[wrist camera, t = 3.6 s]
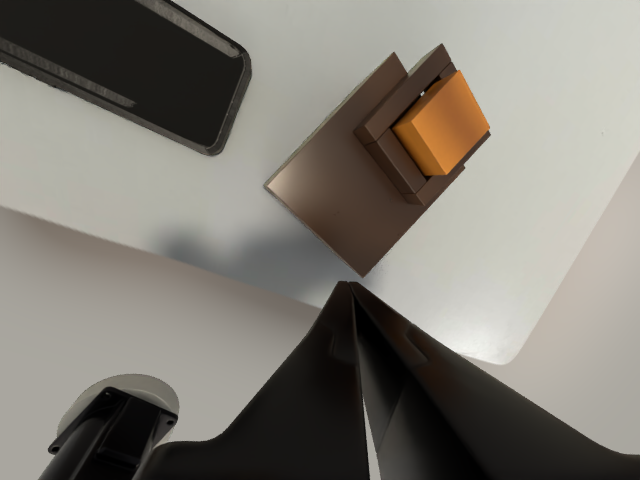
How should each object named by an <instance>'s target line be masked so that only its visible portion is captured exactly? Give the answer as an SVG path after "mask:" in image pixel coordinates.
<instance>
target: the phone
mask: <svg viewBox="0 0 640 480" xmlns="http://www.w3.org/2000/svg"><path fill="white" fill-rule="evenodd" d="M0 61H2V62H5V63H7V64H9V66H10V67H12V68H14V69H16V70H19V71H21V72H23V73H25V74H27V75H29V76H35V77H36V79H37V80H40V81H42V82H44V83H46V84H48V85H51V86H53V87H55V88H56V86H57V87H59V88H61V89H63V90H65V91H68V92H70V93H72V94H74V95H76V96H78V97H81V98H83V99H85V100H87V101H89V102H92V103H94V104H96V105H98V106H100V107H102V108H105V109H107V110H109V111H111V112H113V113H115V114H118V115H120V116H122V117H124V118H126V119H128V120H131V121H133V122H135V123H137V124H139V125H142V126H144V127H146V128H148V129H150V130H152V131H155V132H157V133H159V134H161V135H163V136H165V137H168V138H170V139H172V140H174V141H176V142H179V143H181V144H183V145H185V146H187V147H189V148H192V149H194V150H196V151H198V152H200V153H202V154H206V155H215V154H218V153H219V152H220V151H222V149H223V147H224V145H225V142H226V140H227V137H228V135H229V132H230V130H231V127H232V124H233V122H234V119H235V117H236V114H237V111H238V109H239V106H240V104H241V101H242V98H243V96H244V93H245V91H246V88H247V86H248V83H249V80H250V78H251V59H250V57H249V54H248V53H247V51H246V50H245V49H244V48H243V47H242V46H241V45H240V44H238V43H237V42H235V41H233V40H232V39H230V38H229V37H227V36H226V35H224V34H223V33H221V32H219V31H218V30H216V29H215V28H213V27H212V26H210V25H209V24H207V23H205V22H204V21H202V20H201V19H199V18H198V17H196V16H195V15H193V14H191V13H190V12H188V11H187V10H185V9H184V8H182V7H181V6H179V5H177V4H176V3H174V2H173V1H171V0H0Z"/></svg>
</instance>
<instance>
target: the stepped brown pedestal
mask: <svg viewBox="0 0 640 480" xmlns="http://www.w3.org/2000/svg"><path fill="white" fill-rule="evenodd" d="M456 71H457V70H456V68H455V66H454V64H453V62H451V58H450V57H449V55H448V53H447V51H446V49H445V47H444V45H443V44H440V45H439V46H437V47H436V48H434V49H433V50H432V51H430V52H429V53H428V54H426V55H425V56H424V57H422V58H421V59H420V60H419V62H418V63H417V64H416V65H415V66H414V67H413V68H412V69H411V70H410V71H409V72H408V73H407V72H406V70H405V68H404V67H403V65H402V63H401V62H400V60H399V59H398V57H397V55H396V54H395V52H393V53H392V54H391V55H390V56H389V57H388V58H387V59H386V60H385V61H383V62H382V63H381V64H380V65H379V66H378V67H377V68H376V69H375V70H374V71H373V72H372V73H371V74H369V75H368V76H367V77H366V78H365V79H364V80H363V81H362V82H361V83H360V84H359V85H358V86H357V87H356V88H355V89H354V90H353V91H352V92H351V93H350V94H349V95H348V96H347V97H346V99H345V100H344V101H343V102H342V103H341V104H340V105H339V106H338V107H337V108H336V109H335V110H334V111H333V112H332V113H331V114H330V115H329V116H328V117H327V119H326V120H325V121H324V122H323V123H322V124H321V125H320V126H319V127H318V128H317V129H316V130H315V131H314V132H313V133H312V134H311V135H310V136H309V137H308V139H307V140H306V141H305V142H304V143H303V144H302V145H301V146H300V147H299V148H298V149H297V150H296V151H295V152H294V153H293V154H292V155H291V156H290V157H289V158H288V160H287V161H286V162H285V163H284V164H283V165H282V166H281V167H280V168H279V169H278V170H277V171H276V172H275V173H274V174H273V175H272V176H271V177H270V178H269V180H268V181H267V182H266V183H265V184H264V185H263V186H264V187H265V188H266V189H267V190H268V191H269V192H270V193H271V194H272V195H273V196H275V197H276V198H277V199H278V200H279V201H280V202H281V203H282V204H283V205H284V206H285V207H286V208H287V209H288V210H289V211H290V212H291V213H292V214H293V215H294V216H296V217H297V218H298V219H299V220H300V221H301V222H302V223H303V224H304V225H305V226H306V227H307V228H308V229H309V230H310V231H311V232H312V233H313V234H314V235H315V236H317V237H318V238H319V239H320V240H321V241H322V242H323V243H324V244H325V245H326V246H327V247H328V248H329V249H330V250H331V251H332V252H333V253H334V254H335V255H336V256H338V257H339V258H340V259H341V260H342V261H343V262H344V263H345V264H347V265H348V266H349V267H350V268H351V269H352V270H353V271H355V272H356V273H357V274H358V275H359V276H360V277H362V278H364V277H365V276H366V275H367V274H368V273H369V271H370V270H371V269H372V268H373V267H374V266H375V265H376V264H377V263H378V262H379V261H380V260H381V259H382V257H383V256H384V255H385V254H386V253H387V252H388V251H389V250H390V249H391V248H392V247H393V246H394V245H395V243H396V242H397V241H398V240H399V239H400V238H401V237H402V236H403V235H404V234H405V233H406V232H407V230H408V229H409V228H410V227H411V226H412V225H413V224H414V223H415V222H416V221H417V220H418V219H419V218H420V216H421V215H422V214H423V213H424V212H425V211H426V210H427V209H428V208H429V207H430V206H431V205H432V204H433V202H434V201H435V200H436V199H437V198H438V197H439V196H440V195H441V194H442V193H443V192H444V191H445V190H446V188H447V187H448V186H449V185H450V184H451V183H452V182H453V181H454V180H455V179H456V178H457V177H458V176H459V174H460V173H461V172H462V171H463V170H464V169H465V167H464V165H463V164H464V163H465V162H466V161H467V160H468V159H469V158H470V157H471V156H472V155H473V154H474V153H475V152H476V150H477V149H478V148H479V147H480V146H481V145H482V144H483V143H484V142H485V141H486V140H487V139H488V138H489V136H490V135H491V134H490V132H489V130H488V131H487V132H486V133H485V134H484V135H483V136H482V137H481V138H480V139H479V140H478V142H477V143H476V144H475V145H474V146H473V147H472V148H471V149H470V150H469V151H468V152H467V153H466V154H465V156H464V157H463V158H462V159H461V160H460V161H459V162H458V163H457V164H456V165H455V166H454V167H453V168H452V169H451V171H450V172H449V173H448V174H447V175H429V176H424V175H423V174H422V172H421V171H420V169H419V168H418V167H417V165H416V164H415V162H414V161H413V159H412V158H411V157H410V155H409V154H408V152H407V151H406V150H405V148H404V147H403V145H402V144H401V142H400V141H399V140H398V138H397V137H396V135H395V134H394V132H393V131H392V130H391V129H392V127H393V126H394V125H395V124H396V123H397V122H398V121H399V120H400V119H401V118H402V117H403V116H404V115H405V114H406V113H407V112H408V110H409V109H410V108H411V107H412V106H413V105H414V104H415V103H416V102H417V101H418V100H419V99H420V98H421V97H422V96H421V95H420V94H421V93H422V92H423V91H424V93H425V92H426V91H427V90H428V89H429V88H430V87H431V86H432V85H433V84H434V83H436V82H438V81H440V80H442V79H443V78H445V77H447V76H449V75H451V74H453V73H454V72H456Z"/></svg>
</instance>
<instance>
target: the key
mask: <svg viewBox="0 0 640 480" xmlns="http://www.w3.org/2000/svg"><path fill="white" fill-rule="evenodd" d="M489 129H490V127H489V125H488V123H487V121H486V119H485V117H484V115H483V113H482V111H481V109H480V107H479V105H478V104H477V102H476V100H475V98H474V96H473V94H472V92H471V90H470V88H469V86H468V84H467V82H466V81H465V79H464V77H463V75H462V73H461V71H460V70H458V71H456V72H454V73H453V74H451V75H449V76H447V77H445V78H443V79H442V80H440V81H438V82H436V83H434V84H433V85H432V86H431V87H430V88H429V89H428V90H427V91H426V92H425V93H424V95H423V96H422V97H421V98H420V99H419V100H418V101H417V102H416V103H415V104H414V105H413V106H412V107H411V108H410V109H409V110H408V112H407V113H406V114H405V115H404V116H403V117H402V118H401V119H400V120H399V121H398V122H397V123H396V124H395V125H394V126H393V127H392V129H391V130H392V131H393V132H394V134H395V135H396V137H397V138H398V140H399V141H400V142H401V144H402V145H403V147H404V148H405V150H406V151H407V152H408V154H409V155H410V157H411V158H412V159H413V161H414V162H415V164H416V165H417V167H418V168H419V169H420V171H421V172H422V174H423V175H424V176H429V175H447V174H448V173H449V172H450V171H451V169H452V168H453V167H454V166H455V165H456V164H457V163H458V162H459V161H460V160H461V159H462V158H463V157H464V156H465V154H466V153H467V152H468V151H469V150H470V149H471V148H472V147H473V146H474V145H475V144H476V143H477V142H478V140H479V139H480V138H481V137H482V136H483V135H484V134H485V133H486V132H487V131H488V130H489Z"/></svg>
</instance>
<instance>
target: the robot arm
mask: <svg viewBox="0 0 640 480" xmlns="http://www.w3.org/2000/svg"><path fill="white" fill-rule="evenodd" d="M106 393H108V394H106ZM362 394H363V395H362ZM363 398H364V402H365V407H366V411H367V415H368V420H369V424H370V429H371V432H372V437H373V442H374V446H375V450H376V453H377V459H378V464H379V470H380V476H381V480H640V455H630V454H622V453H619V452H615V451H612V450H610V449H608V448H606V447H604V446H601V445H599V444H598V443H596V442H594V441H592V440H591V439H589V438H588V437H586V436H584V435H583V434H581V433H580V432H578V431H577V430H575V429H573V428H572V427H570V426H569V425H567V424H566V423H564V422H563V421H561V420H560V419H558V418H556V417H555V416H553V415H552V414H550V413H548V412H547V411H546V410H544V409H542V408H541V407H539V406H538V405H536V404H534V403H533V402H532V401H530V400H528V399H527V398H525V397H524V396H522V395H521V394H519V393H518V392H516V391H514V390H513V389H511V388H510V387H508V386H507V385H505V384H503V383H502V382H500V381H499V380H497V379H496V378H494V377H492V376H491V375H489V374H488V373H486V372H485V371H483V370H481V369H480V368H478V367H477V366H475V365H474V364H472V363H471V362H469V361H468V360H466V359H465V358H463V357H461V356H460V355H458V354H457V353H455V352H454V351H452V350H451V349H449V348H447V347H446V346H444V345H443V344H441V343H440V342H438V341H437V340H435V339H434V338H432V337H431V336H430V335H428V334H427V333H425V332H424V331H423V330H421V329H420V328H419V327H417V326H416V325H415V324H412V323H411V322H410V321H409V320H407V319H406V318H405V317H403V316H402V315H401V314H399V313H398V312H397V311H395V310H394V309H393V308H391V307H390V306H389V305H387V304H386V303H385V302H383V301H382V300H381V299H379V298H378V297H377V296H375V295H374V294H373V293H371V292H370V291H369V290H367V289H366V288H365V287H363V286H362V285H361V284H359V283H358V282H347V281H338V283H337V285H336V286H335V288H334V290H333V291H332V293H331V295H330V297H329V298H328V300H327V302H326V304H325V305H324V307H323V309H322V311H321V312H320V314H319V316H318V318H317V320H316V321H315V322H314V324H313V326H312V327H311V329H310V330H309V332H308V333H307V335H306V336H305V337H304V338H303V340H302V341H301V342H300V343H299V345H298V346H297V347H296V348H295V349H294V350H293V352H292V353H291V354H290V355H289V356H288V357H287V359H286V360H285V361H284V362H283V363H282V365H281V366H280V367H279V368H278V369H277V370H276V372H275V373H274V374H273V375H272V376H271V377H270V379H269V380H268V381H267V382H266V383H265V385H264V386H263V387H262V388H261V389H260V390H259V392H258V393H257V394H256V395H255V396H254V397H253V399H252V400H251V401H250V402H249V403H248V405H247V406H246V407H245V408H244V409H243V410H242V412H241V413H240V414H239V415H238V416H237V417H236V419H235V420H234V421H233V422H232V423H231V424H230V426H229V427H228V428H227V429H226V430H225V431H224V432H223V433H222V434H220V435H218V436H217V437H215V438H213V439H210V440H207V441H200V442H198V441H196V442H195V441H175V442H168V443H164V444H161V445H159V446H157V447H155V446H156V445H157V444H158V443H159V442H160V441H161V440H162V439H163V437H164V436H165V435H166V434H167V433H168V432H169V431H170V430H171V429H172V428H173V427H174V426H175V425H176V423H177V420H178V415H177V414H175V413H173V412H170V411H168V410H166V409H163V408H161V407H159V406H156V405H154V404H152V403H149V402H147V401H145V400H142V399H140V398H138V397H136V396H133V395H131V394H129V393H126V392H124V391H122V390H119V389H117V388H115V387H111V386H109V387H105V388H104V389H102V391H101V392H100V393H99V394H98V395H97V396H96V397H95V398H94V399H93V400H92V401H91V402H90V403H89V404H88V405H87V406H86V407H85V408H84V410H83V411H82V412H81V413H80V414H79V415H78V416H77V417H76V418H75V419H74V420H73V421H72V422H71V423H70V424H69V425H68V426H67V427H66V429H65V430H64V431H63V432H62V433H61V434H60V435H59V436H58V437H57V438H56V439H55V440H54V441H53V443H52V444H51V445H50V446H49V448H48V452H49V453H51V454H53V455H55V457H54V458H53V459H52V461H51V462H50V464H49V465H48V466H47V468H46V469H45V471H44V472H43V473H42V475H41V476H40V477H39V479H38V480H370V474H369V463H368V452H367V440H366V429H365V418H364V407H363ZM171 420H172V421H171ZM154 447H155V448H154ZM153 448H154V449H153Z"/></svg>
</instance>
